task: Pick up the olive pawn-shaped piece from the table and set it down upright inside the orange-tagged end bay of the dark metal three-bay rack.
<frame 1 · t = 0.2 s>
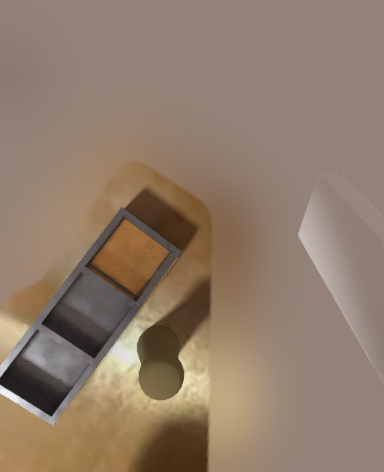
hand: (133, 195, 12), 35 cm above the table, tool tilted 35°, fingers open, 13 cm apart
olive pawn-shaped piece: (158, 346, 47), on the table
rack: (92, 307, 45), on the table
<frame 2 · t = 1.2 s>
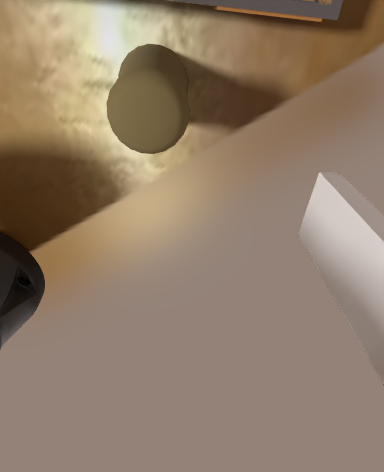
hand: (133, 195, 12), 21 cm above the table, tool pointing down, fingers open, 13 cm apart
olive pawn-shaped piece: (153, 83, 29), on the table
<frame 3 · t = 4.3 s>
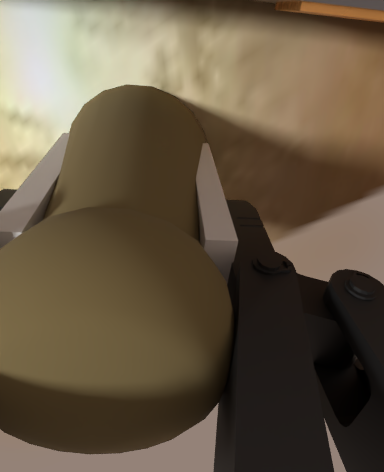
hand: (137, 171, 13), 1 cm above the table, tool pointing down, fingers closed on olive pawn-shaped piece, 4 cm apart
olive pawn-shaped piece: (139, 157, 14), on the table, touching gripper
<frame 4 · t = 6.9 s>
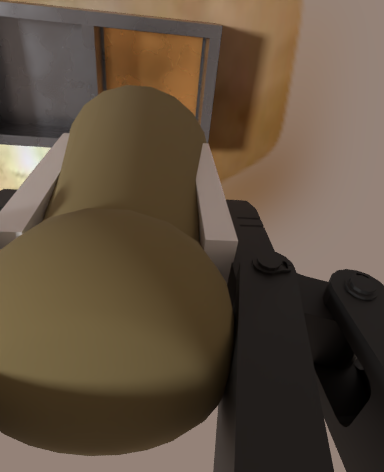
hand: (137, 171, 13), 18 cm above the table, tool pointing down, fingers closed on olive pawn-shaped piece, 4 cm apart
olive pawn-shaped piece: (139, 158, 14), point 17 cm above the table, touching gripper
rack: (47, 74, 27), on the table
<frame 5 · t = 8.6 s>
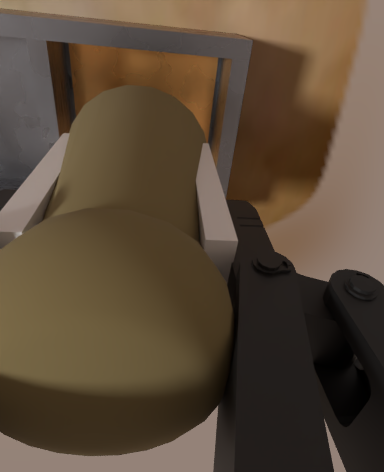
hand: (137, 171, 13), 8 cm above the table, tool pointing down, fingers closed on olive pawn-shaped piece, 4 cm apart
olive pawn-shaped piece: (140, 158, 14), point 7 cm above the table, touching gripper
when the fingers open (5 cm above the table, at t = 10.0 s): olive pawn-shaped piece drops 2 cm, point 1 cm above the table.
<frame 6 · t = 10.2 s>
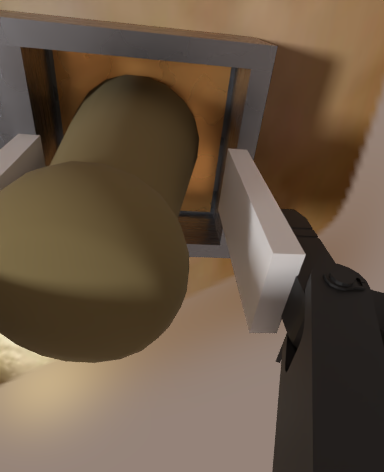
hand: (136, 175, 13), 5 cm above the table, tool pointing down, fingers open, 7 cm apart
olive pawn-shaped piece: (137, 141, 16), point 1 cm above the table, touching gripper
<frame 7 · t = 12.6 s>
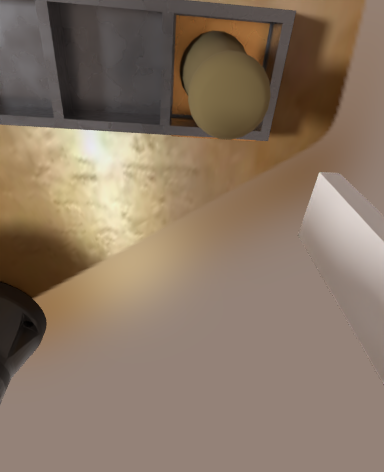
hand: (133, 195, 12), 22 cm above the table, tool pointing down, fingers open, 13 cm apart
olive pawn-shaped piece: (214, 71, 28), point 1 cm above the table, touching rack
rack: (116, 61, 28), on the table
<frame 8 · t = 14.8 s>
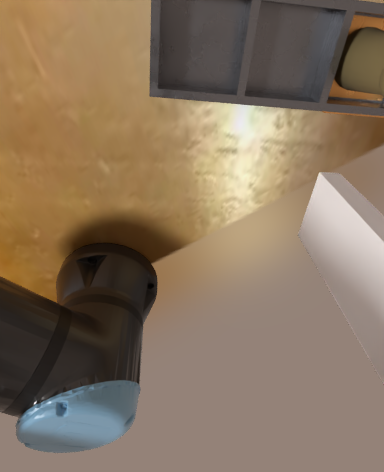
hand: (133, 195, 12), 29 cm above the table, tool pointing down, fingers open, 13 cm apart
olive pawn-shaped piece: (359, 59, 35), point 1 cm above the table, touching rack
rack: (280, 51, 35), on the table
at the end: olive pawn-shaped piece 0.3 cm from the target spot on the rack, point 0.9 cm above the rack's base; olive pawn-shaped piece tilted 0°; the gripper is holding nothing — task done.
